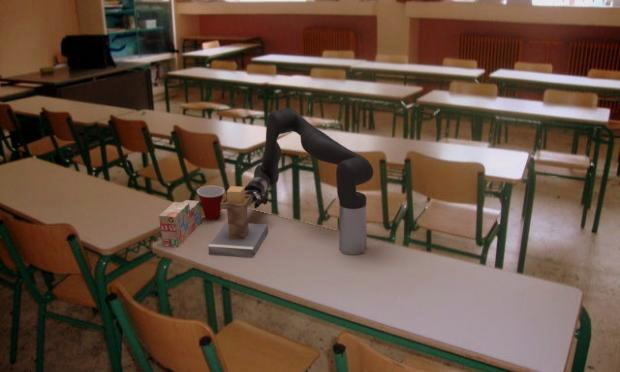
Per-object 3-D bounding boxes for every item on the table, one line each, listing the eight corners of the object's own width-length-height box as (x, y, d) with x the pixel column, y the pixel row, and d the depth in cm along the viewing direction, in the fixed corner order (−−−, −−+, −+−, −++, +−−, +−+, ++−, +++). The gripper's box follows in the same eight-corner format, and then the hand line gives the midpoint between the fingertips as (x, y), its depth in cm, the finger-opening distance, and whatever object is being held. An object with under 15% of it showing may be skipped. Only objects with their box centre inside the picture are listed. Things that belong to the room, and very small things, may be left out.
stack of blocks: (187, 221, 220) (184, 192, 216) (202, 222, 219) (199, 193, 214) (162, 246, 201) (158, 215, 196) (178, 247, 199) (174, 216, 195)
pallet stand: (254, 230, 204) (252, 194, 199) (247, 241, 196) (245, 204, 191) (230, 228, 206) (228, 193, 201) (223, 239, 197) (220, 203, 192)
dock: (267, 231, 209) (267, 224, 208) (253, 257, 191) (252, 249, 190) (227, 229, 212) (226, 221, 211) (209, 254, 194) (208, 246, 193)
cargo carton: (245, 199, 198) (244, 186, 196) (241, 205, 193) (240, 192, 192) (231, 199, 199) (230, 186, 197) (227, 204, 194) (226, 191, 192)
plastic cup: (216, 225, 216) (214, 196, 211) (194, 220, 220) (191, 192, 216) (232, 214, 225) (230, 187, 220) (210, 210, 229) (207, 183, 225)
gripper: (238, 179, 220) (224, 194, 205) (273, 181, 218) (262, 196, 203) (239, 196, 223) (226, 213, 208) (273, 198, 220) (263, 215, 205)
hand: (244, 205), depth 205 cm, fingers open, 8 cm apart
